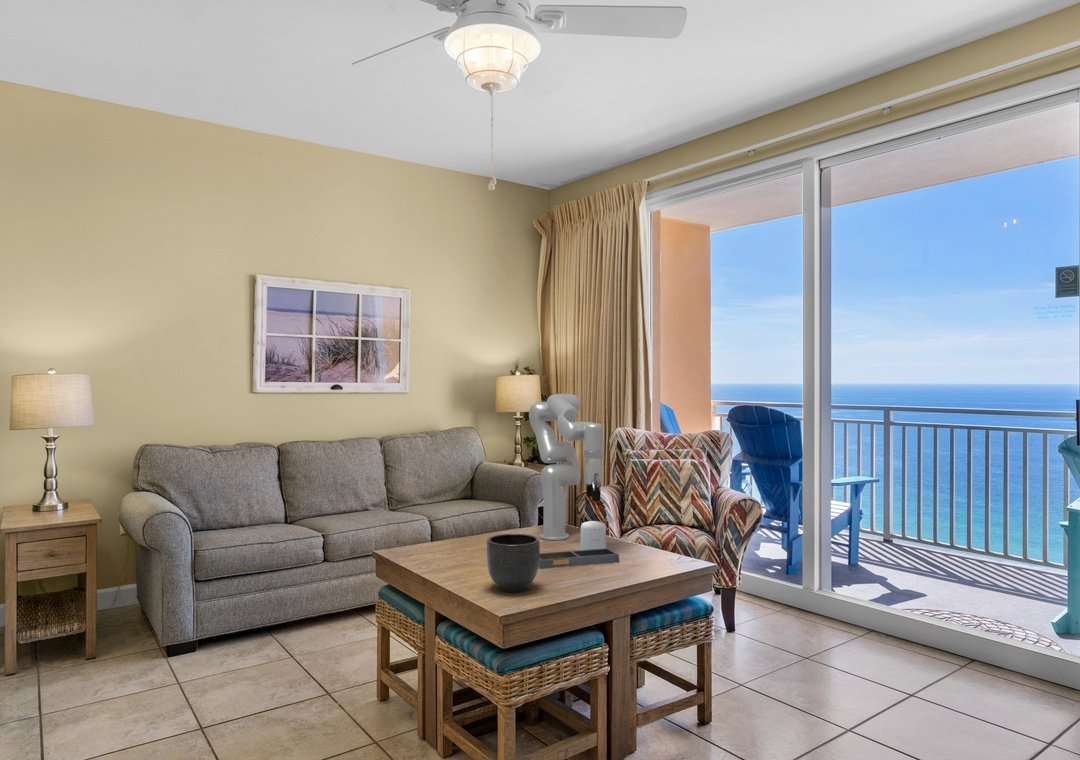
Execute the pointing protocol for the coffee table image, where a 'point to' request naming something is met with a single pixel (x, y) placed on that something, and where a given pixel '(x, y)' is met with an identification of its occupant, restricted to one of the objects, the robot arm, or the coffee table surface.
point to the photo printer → (593, 535)
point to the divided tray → (577, 558)
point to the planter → (513, 560)
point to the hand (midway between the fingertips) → (593, 498)
